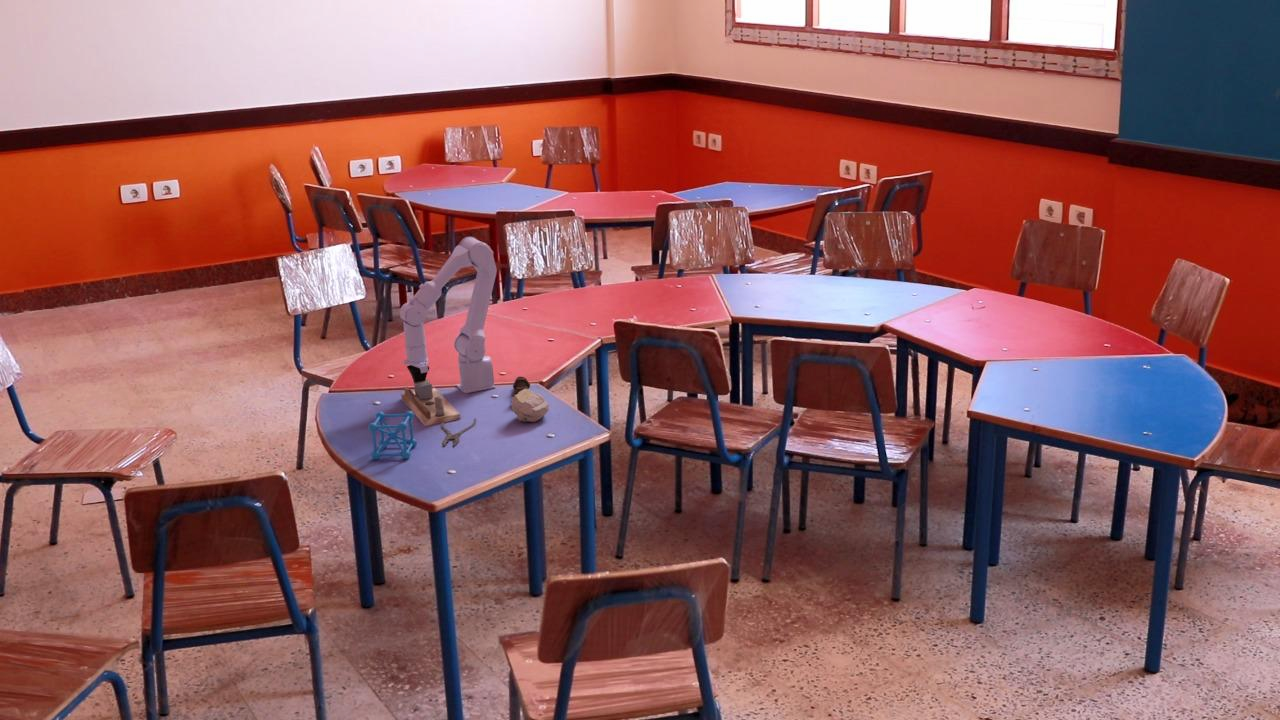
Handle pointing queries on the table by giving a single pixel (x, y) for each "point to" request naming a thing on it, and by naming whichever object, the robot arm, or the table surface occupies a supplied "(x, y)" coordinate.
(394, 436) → the molecular structure
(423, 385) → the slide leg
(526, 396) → the beige rock
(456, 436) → the pliers
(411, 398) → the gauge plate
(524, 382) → the bolt
